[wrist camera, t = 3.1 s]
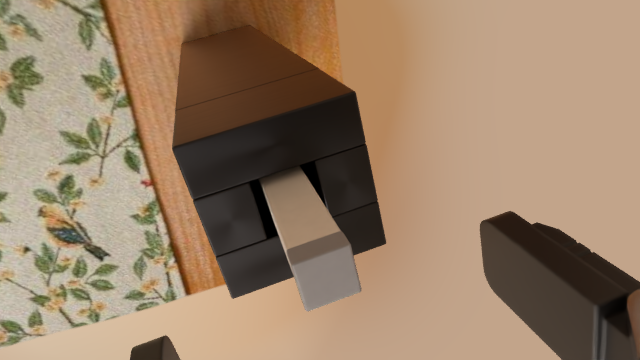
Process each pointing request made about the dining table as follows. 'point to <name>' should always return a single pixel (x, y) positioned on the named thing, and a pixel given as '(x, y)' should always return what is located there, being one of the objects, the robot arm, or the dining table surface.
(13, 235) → the dining table surface
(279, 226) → the grey square peg
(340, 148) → the holder
